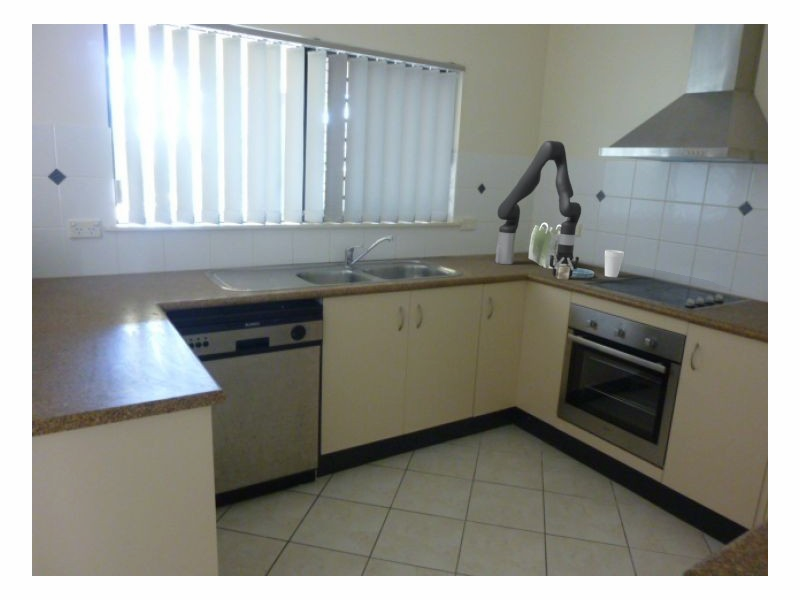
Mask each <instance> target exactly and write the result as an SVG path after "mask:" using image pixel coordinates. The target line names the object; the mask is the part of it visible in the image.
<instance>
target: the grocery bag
mask: <svg viewBox="0 0 800 600" xmlns="http://www.w3.org/2000/svg"><path fill="white" fill-rule="evenodd" d="M543 225H545V226H546V227H543ZM559 227H560V228H561V224H557V225H556V228H555V227H552V226H549V225H548V223H547V222H542V223H541V225H537V224H535V225H534V228H533V229H532V232H531V237H530V242H529V249H528V260H531V261H533V262H535V263H536V264H538V265H539V266H541V267H542V266H543V268H545V269H553V268H552V267H550V255H557V250H558V241H559V236H560V230H558V228H559ZM556 261H557V258H555V259H554V263H553V265H555V263H556ZM560 265H562V266H568V264H560ZM556 269H557V268H556Z"/></svg>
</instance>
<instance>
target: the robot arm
mask: <svg viewBox="0 0 800 600" xmlns="http://www.w3.org/2000/svg"><path fill="white" fill-rule="evenodd" d="M565 147H566V146H565V145H564V144H563V142H562V141H559V140H545V141H544V142H543V143H542V144H541V145H540V146H539V149H538V151H536V152H537V153H536V154H535V155H534V158H533V160H532V162H531V163H530V164H529V165H528V167H527V169H526V170H525V172H524V173H523V174H522V175H521V177H520V178H519V180H518V182H517V183H516V185H515V186H514V188H513V189H512V190H511V191H510V192H509V194H508V195H507V196H506V198H505V199H504V200H502V202H501V203H500V204H499V206H498V208H497V211H496V213H497V217H498V218H499V219H500V220H503V221H505V223H503V224H502V225H500V226H499V228H498V230H499V231H498V237H497V238H498V239H497V244H496V249H495V263H496V264H500V265H513V264H514V254H515V243H516V235H517V230H518V227H519V222H520V215H521V208H520V205H519V204H518V203H519V202H521V201H523V200H524V199H525V198H527V197H528V196H530V195H531V194H532V193H534V191H535V190H536V188H537V187H538V185H539V184H540V182H541V177H542V176H541V175H542V170H543V168H544V167H545V165H546V164H547V163H548V162H549V161H554V163H555V166H556V176H555V181H554V183H555V189H556V191H557V195H558V209H559V213H560V215H561V216H563V218H566V220H565V221H563V222H561V224H560V225H561V227H560V230H559V231H560V236H559V241H558V250H557V255H550V267H552V268H551V269H552V275H553V277H556V272H557V269H556V268H557V267H558V266H559V265H560V264H567V266H568V267H570V271H569V278H572V277H571V276H572V273H573V270H574V269H577V268H578V267H579V260H580V257H579V256H577V255H575V256H574V249H575V241H576V228H577V226H578V223H579V221H580V217H581V214H582V206H581V204H580V203H579V202H573V201H571V199H572V198H573V197H574V190H573V186H572V182H571V180H570V175H569V170H568V169H569V167H568V162H567V160H568V159H567V154H566V149H565ZM555 258H557V261H556V263H555V265H553V263H554V259H555ZM572 261H573V264H572Z"/></svg>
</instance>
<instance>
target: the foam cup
mask: <svg viewBox="0 0 800 600" xmlns="http://www.w3.org/2000/svg"><path fill="white" fill-rule="evenodd" d="M624 257H625V251H623V250H616V249H605V250H604V276H605V277H608V278H618V276H619V273H620V269H621V266H622V263H623V259H624Z"/></svg>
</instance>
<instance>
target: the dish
mask: <svg viewBox="0 0 800 600" xmlns="http://www.w3.org/2000/svg"><path fill="white" fill-rule="evenodd" d="M594 274H595V272H594V271H593V270H591V269H586V268H579V267H577V269H574V270H573V273H572V276H571V277H570V278H577V279H592V278H593V277H594Z"/></svg>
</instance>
